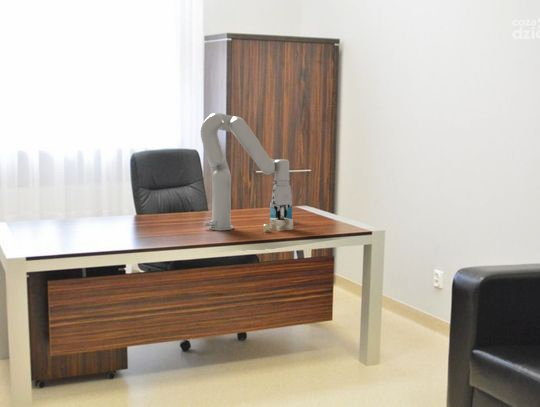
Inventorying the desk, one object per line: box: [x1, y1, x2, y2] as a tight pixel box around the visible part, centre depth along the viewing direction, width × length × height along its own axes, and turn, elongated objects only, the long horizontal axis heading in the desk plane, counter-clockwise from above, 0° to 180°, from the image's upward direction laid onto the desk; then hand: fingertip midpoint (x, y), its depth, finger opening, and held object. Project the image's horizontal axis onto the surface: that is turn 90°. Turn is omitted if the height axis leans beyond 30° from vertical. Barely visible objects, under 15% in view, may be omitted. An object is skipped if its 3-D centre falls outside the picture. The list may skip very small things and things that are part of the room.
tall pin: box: [278, 205, 284, 220], centre depth 377 cm, size 3×3×10 cm
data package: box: [269, 202, 293, 220], centre depth 395 cm, size 12×4×12 cm, turn 126°
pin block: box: [269, 218, 294, 232], centre depth 378 cm, size 9×9×5 cm
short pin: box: [262, 223, 271, 234], centre depth 369 cm, size 3×3×4 cm
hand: (281, 217), depth 378 cm, fingers closed on tall pin, 3 cm apart
